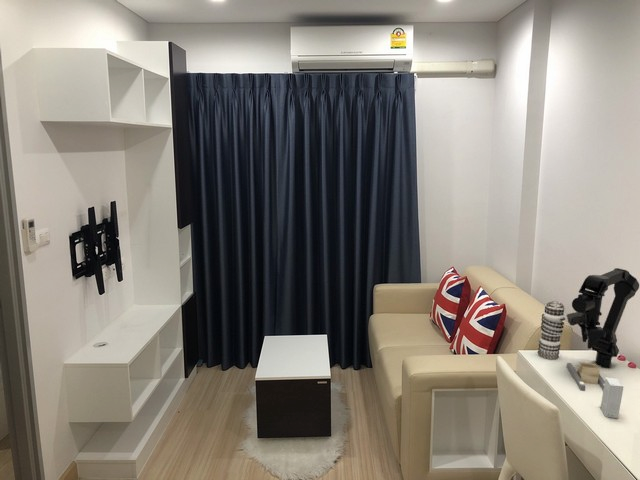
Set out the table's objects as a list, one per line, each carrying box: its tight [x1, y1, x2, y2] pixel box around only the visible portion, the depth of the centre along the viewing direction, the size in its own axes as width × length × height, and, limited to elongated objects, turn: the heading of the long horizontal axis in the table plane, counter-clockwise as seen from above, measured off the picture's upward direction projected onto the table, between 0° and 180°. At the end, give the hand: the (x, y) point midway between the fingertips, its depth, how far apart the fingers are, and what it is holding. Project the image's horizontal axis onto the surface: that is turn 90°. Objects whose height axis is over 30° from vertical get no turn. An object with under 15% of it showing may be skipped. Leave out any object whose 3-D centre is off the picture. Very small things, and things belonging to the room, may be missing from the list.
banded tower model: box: [537, 300, 566, 360], centre depth 225 cm, size 9×9×25 cm
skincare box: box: [600, 377, 625, 419], centre depth 184 cm, size 6×4×12 cm
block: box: [577, 361, 601, 385], centre depth 206 cm, size 5×6×6 cm
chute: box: [566, 362, 605, 392], centre depth 207 cm, size 20×12×3 cm, turn 169°
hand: (586, 345), depth 210 cm, fingers open, 6 cm apart
